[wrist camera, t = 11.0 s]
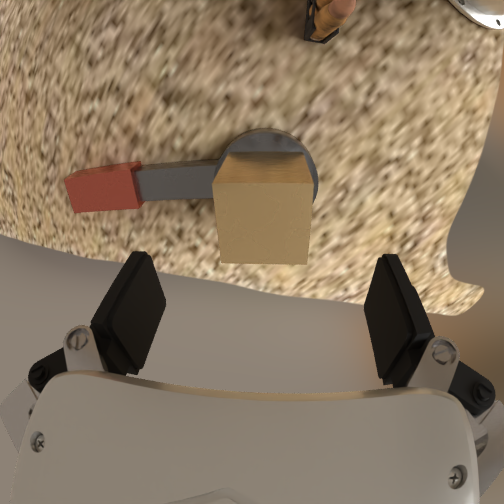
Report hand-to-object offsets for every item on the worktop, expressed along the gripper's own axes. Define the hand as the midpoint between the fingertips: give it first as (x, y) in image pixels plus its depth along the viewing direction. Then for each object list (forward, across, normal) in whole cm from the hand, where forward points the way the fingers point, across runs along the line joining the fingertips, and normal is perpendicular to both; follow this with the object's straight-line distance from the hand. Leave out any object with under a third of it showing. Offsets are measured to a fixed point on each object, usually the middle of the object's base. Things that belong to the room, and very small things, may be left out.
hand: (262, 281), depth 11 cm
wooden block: (+14, 0, +2) cm, 14 cm away
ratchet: (+16, +9, +2) cm, 19 cm away
